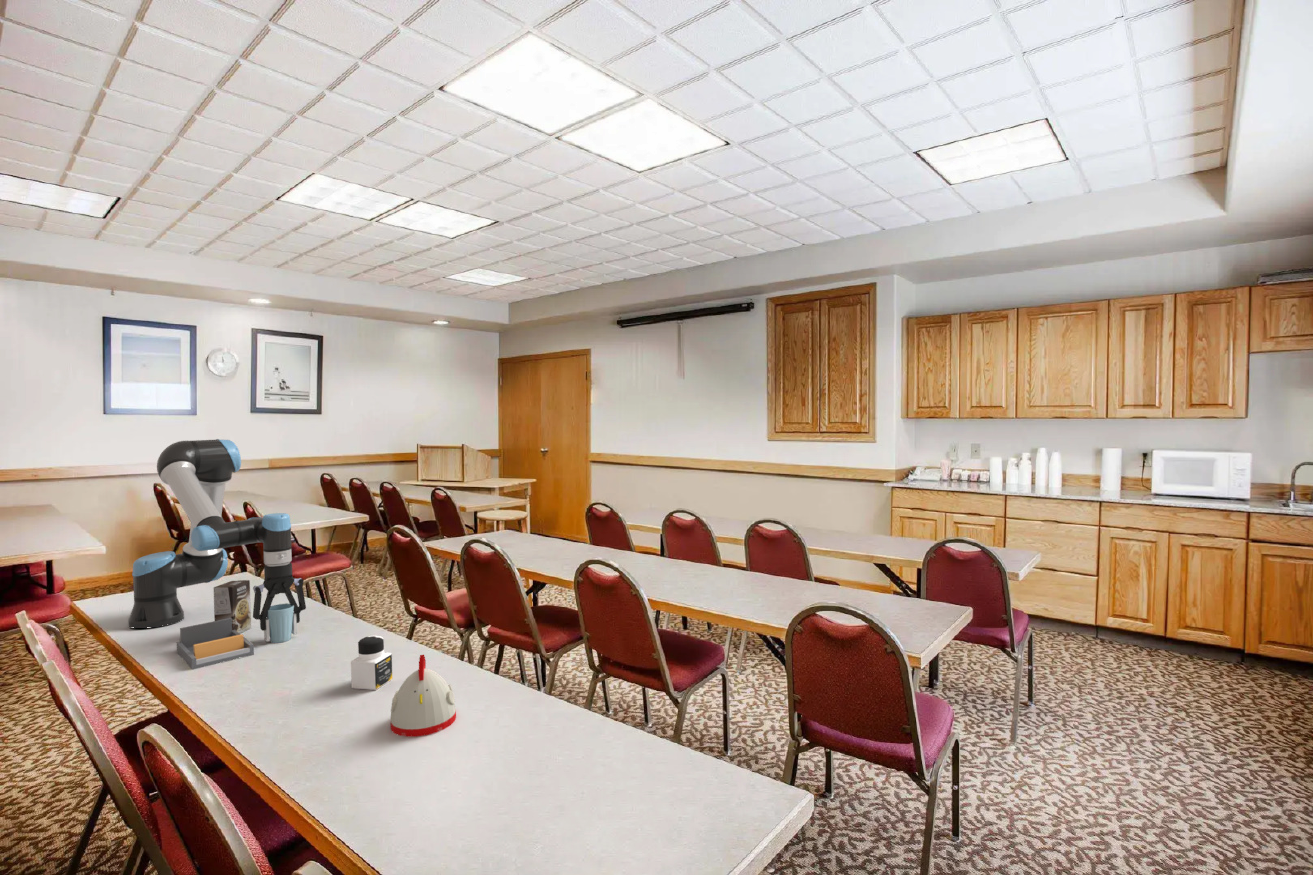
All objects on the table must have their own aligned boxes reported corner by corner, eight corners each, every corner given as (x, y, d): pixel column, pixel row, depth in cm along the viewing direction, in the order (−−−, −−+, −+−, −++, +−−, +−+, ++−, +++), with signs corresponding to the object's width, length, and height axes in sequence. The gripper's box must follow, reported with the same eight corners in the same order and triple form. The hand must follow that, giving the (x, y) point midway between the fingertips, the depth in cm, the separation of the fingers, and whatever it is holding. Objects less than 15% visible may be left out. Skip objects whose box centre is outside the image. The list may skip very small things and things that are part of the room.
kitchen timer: (386, 741, 139) (384, 671, 138) (394, 712, 152) (392, 649, 151) (455, 731, 142) (453, 663, 142) (456, 704, 156) (455, 642, 155)
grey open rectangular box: (176, 652, 195) (175, 629, 194) (235, 639, 205) (234, 617, 205) (192, 669, 181) (191, 644, 180) (253, 654, 192) (252, 630, 191)
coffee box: (234, 637, 207) (232, 586, 207) (214, 637, 208) (212, 587, 207) (252, 628, 216) (250, 579, 216) (233, 628, 217) (231, 579, 216)
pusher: (190, 654, 189) (189, 640, 189) (237, 643, 198) (237, 630, 198) (195, 660, 185) (194, 646, 184) (243, 648, 193) (243, 635, 193)
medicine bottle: (376, 690, 164) (374, 643, 164) (351, 688, 166) (349, 642, 165) (393, 679, 171) (391, 634, 171) (368, 677, 173) (367, 632, 172)
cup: (295, 634, 209) (293, 602, 209) (295, 641, 203) (294, 608, 202) (267, 638, 205) (265, 605, 205) (266, 646, 199) (265, 612, 198)
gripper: (244, 571, 193) (247, 648, 194) (316, 559, 208) (319, 631, 208) (237, 567, 199) (240, 642, 199) (308, 556, 213) (310, 626, 214)
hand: (280, 636), depth 204 cm, fingers closed on cup, 7 cm apart
